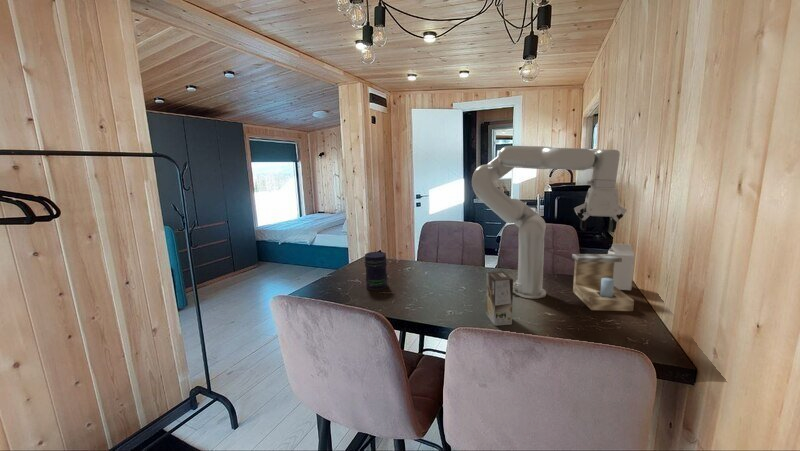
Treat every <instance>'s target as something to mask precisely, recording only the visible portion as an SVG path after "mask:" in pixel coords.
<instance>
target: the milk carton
mask: <svg viewBox="0 0 800 451" xmlns="http://www.w3.org/2000/svg"><path fill="white" fill-rule="evenodd" d="M607 254H615V255H617V256H619V257H621V258H622V262H614V272H613V280H614V286H615V287H616V288H618V289H619V290H620V291H632V285H633V284H632V283H633V276H634V275H633V274H634V264H635V253H634V250H633V248H632V244H631V243H612V244H611V247H610V248H609V249H608V251H607Z"/></svg>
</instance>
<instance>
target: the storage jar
mask: <svg viewBox="0 0 800 451" xmlns="http://www.w3.org/2000/svg"><path fill="white" fill-rule="evenodd" d="M387 262H388V260H387V253H386V252H383V251H370V252H367V253H365V254H364V266H365V283H366V288H367V289H368V290H376V291H377V290H378V291H379V290H383V289H385V288H387V287H388V273H387Z"/></svg>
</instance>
